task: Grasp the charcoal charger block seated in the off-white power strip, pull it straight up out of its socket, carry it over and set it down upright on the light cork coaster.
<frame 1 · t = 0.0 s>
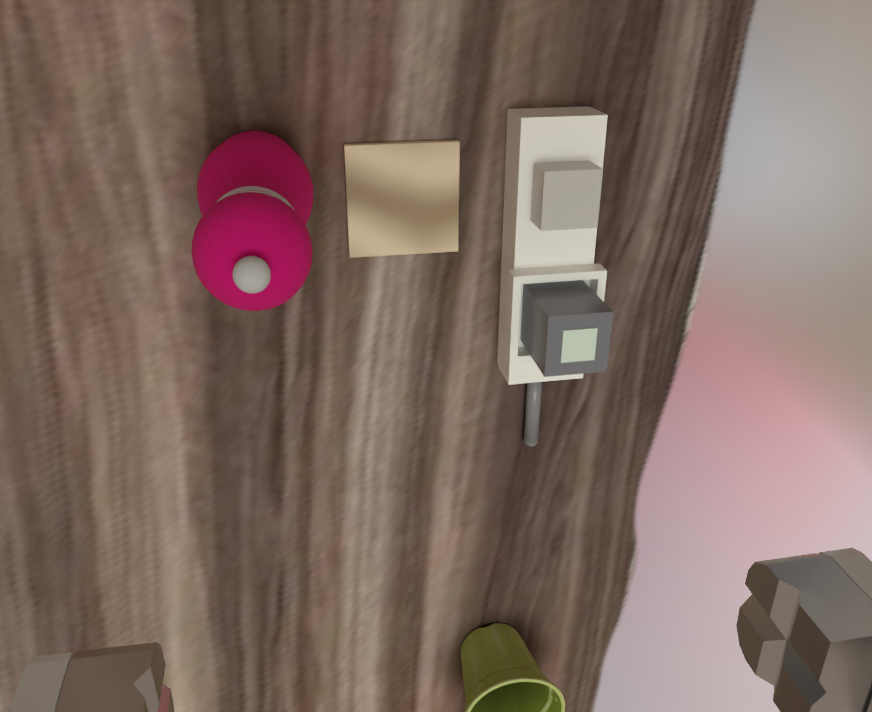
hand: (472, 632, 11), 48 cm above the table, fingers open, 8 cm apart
coaster: (402, 198, 57), on the table
plant pot: (490, 643, 79), on the table
power strip: (540, 243, 61), on the table
pepper mill: (257, 176, 55), on the table
charger: (551, 310, 60), point 3 cm above the table, touching power strip
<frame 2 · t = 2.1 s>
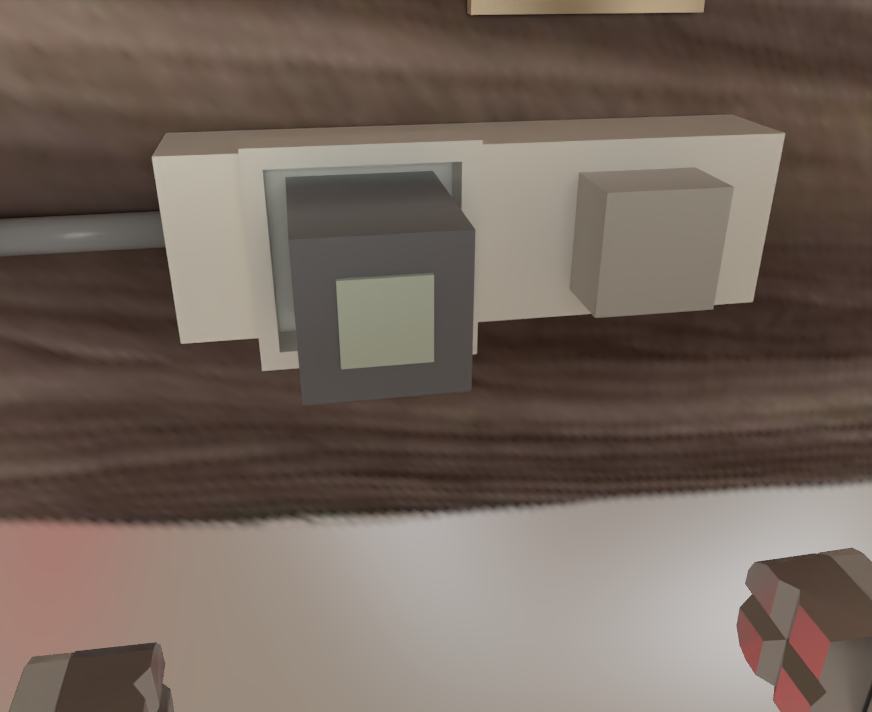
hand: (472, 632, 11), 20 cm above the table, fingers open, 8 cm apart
power strip: (463, 207, 29), on the table
charger: (363, 244, 25), point 3 cm above the table, touching power strip
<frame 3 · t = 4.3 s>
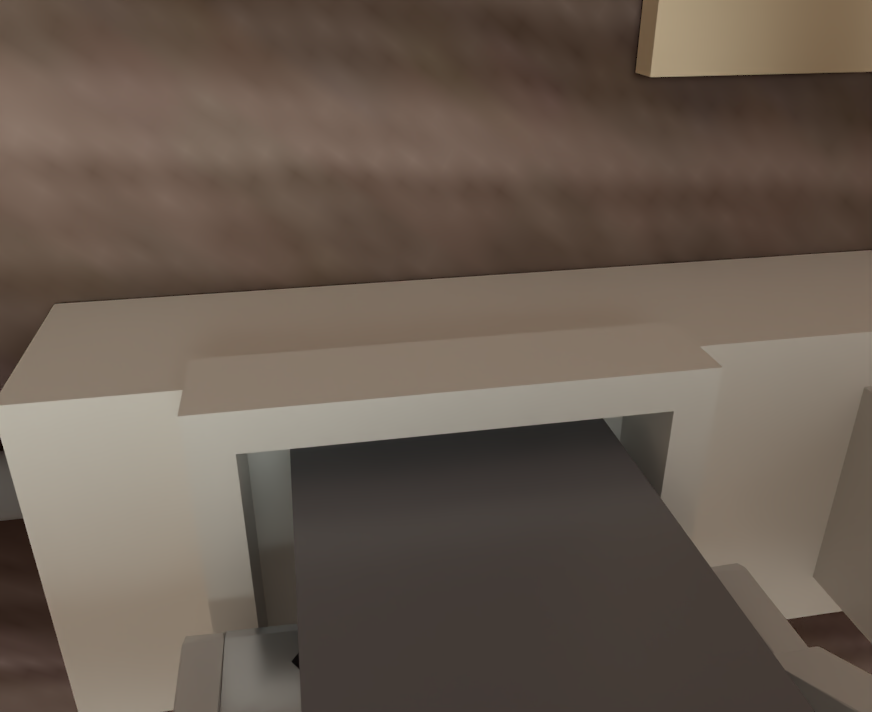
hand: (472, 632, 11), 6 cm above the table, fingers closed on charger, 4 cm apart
power strip: (600, 404, 17), on the table
charger: (443, 534, 13), point 4 cm above the table, touching gripper, power strip
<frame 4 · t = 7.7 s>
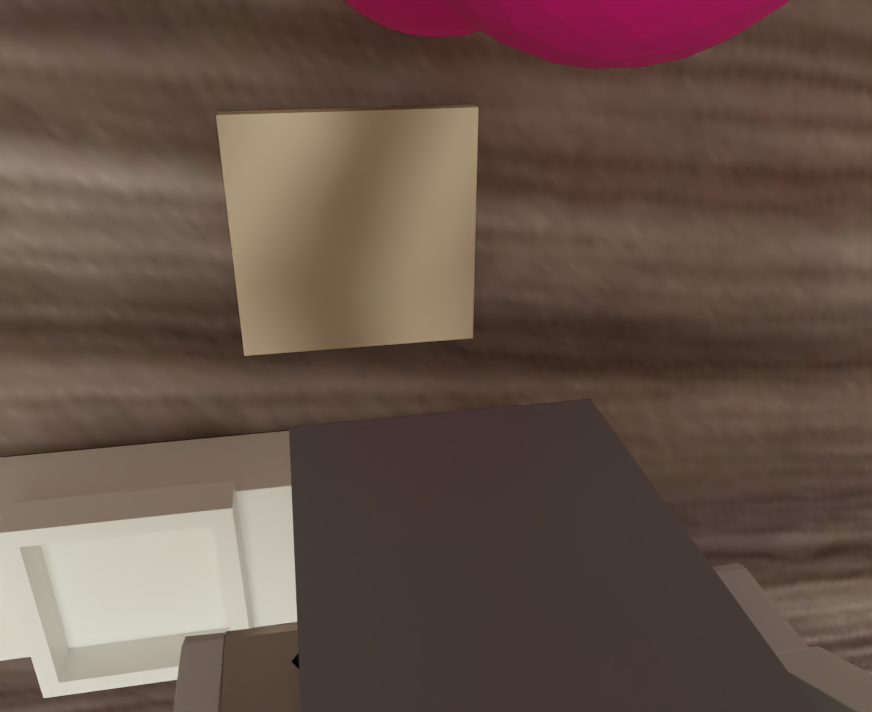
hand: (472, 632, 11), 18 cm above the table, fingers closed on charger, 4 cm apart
coaster: (354, 231, 27), on the table
power strip: (262, 500, 31), on the table
charger: (443, 534, 13), point 16 cm above the table, touching gripper
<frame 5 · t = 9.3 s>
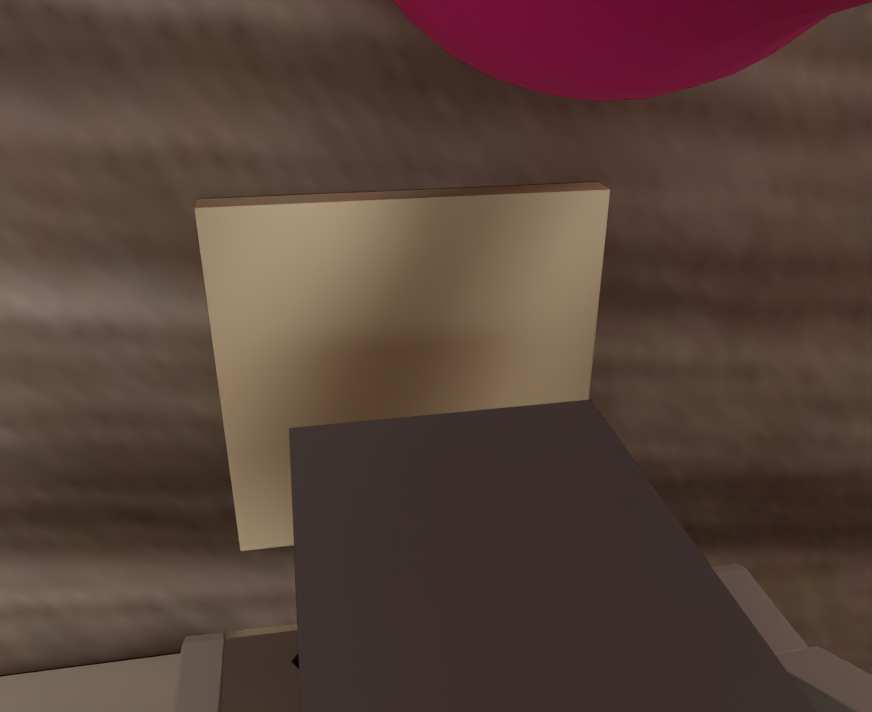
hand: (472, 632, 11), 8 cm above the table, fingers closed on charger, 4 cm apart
coaster: (408, 369, 18), on the table
charger: (443, 535, 13), point 6 cm above the table, touching gripper
when the fingers open (4 cm above the table, at t = 10.9 s): charger drops 1 cm, resting on coaster.
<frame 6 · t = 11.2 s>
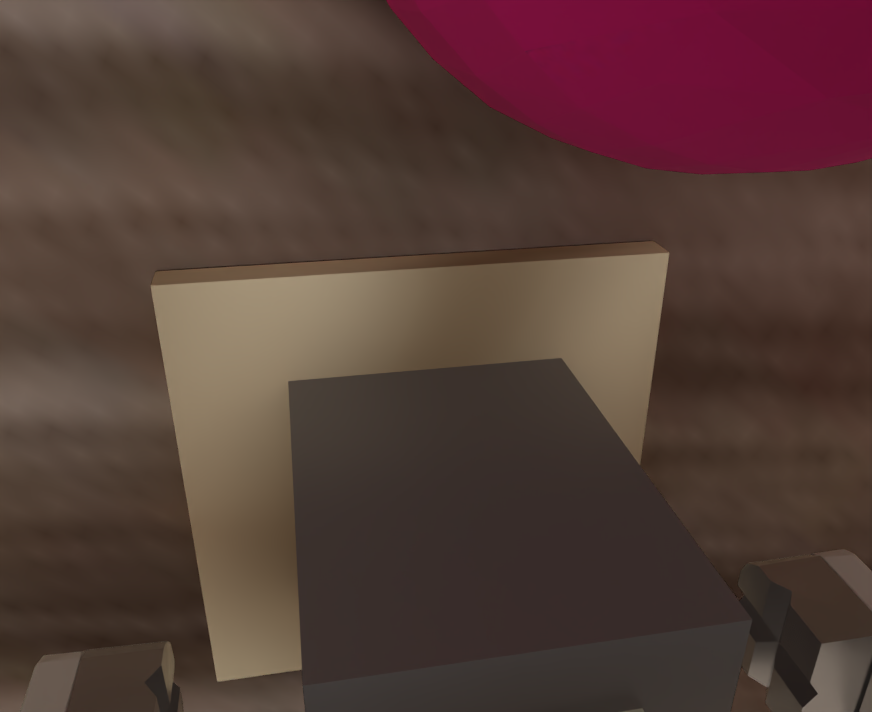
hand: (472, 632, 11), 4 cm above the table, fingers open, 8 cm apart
coaster: (419, 465, 15), on the table
charger: (429, 483, 14), point 1 cm above the table, touching coaster
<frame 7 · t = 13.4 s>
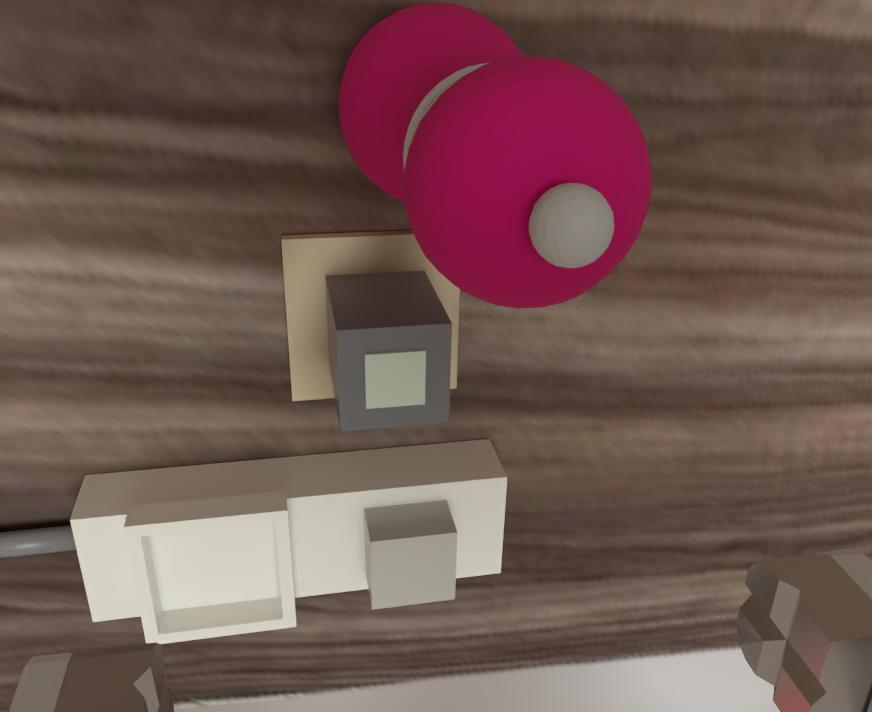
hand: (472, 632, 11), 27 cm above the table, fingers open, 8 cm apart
coaster: (373, 314, 38), on the table
power strip: (299, 504, 42), on the table
pepper mill: (415, 90, 34), on the table
charger: (376, 318, 37), point 1 cm above the table, touching coaster
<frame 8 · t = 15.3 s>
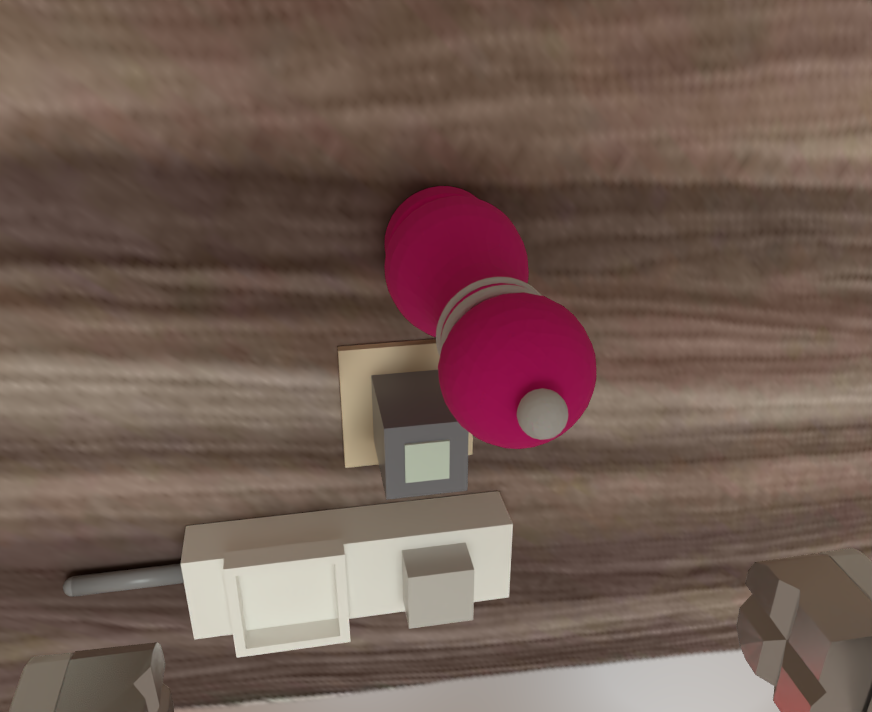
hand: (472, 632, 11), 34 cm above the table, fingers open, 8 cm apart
coaster: (407, 400, 49), on the table
power strip: (349, 544, 53), on the table
pepper mill: (439, 239, 45), on the table
charger: (409, 405, 48), point 1 cm above the table, touching coaster
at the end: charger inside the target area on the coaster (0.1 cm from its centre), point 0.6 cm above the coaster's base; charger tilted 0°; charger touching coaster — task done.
